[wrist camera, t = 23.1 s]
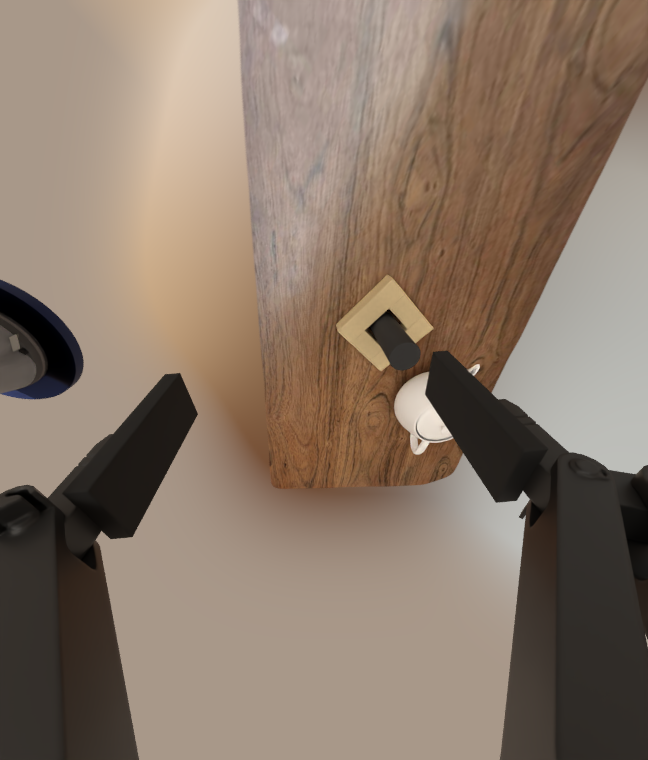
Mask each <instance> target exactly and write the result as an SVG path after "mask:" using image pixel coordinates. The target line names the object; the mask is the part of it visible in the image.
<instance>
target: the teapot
mask: <svg viewBox="0 0 648 760" xmlns="http://www.w3.org/2000/svg"><path fill="white" fill-rule="evenodd" d="M479 368H480V365H479V364H477V365H475V366H473V367H472V368H470V369H467V370H468V371H469V372H470V373H471V374H472V375H473V376H474V375H475V374H476V373H477V371H478V370H479ZM428 375H429V372H425V373H421V374H419V375H417V376H415V377H413V378H412V379H410V380H409V381H407V382H406V383H405V384H404V385H403V386H402V388H401V389H400V390H399V392H398V394H397V396H396V399H395V402H394V411H395V415H396V417H397V419H398V421H399V422H400V423H401V425H402V426H403V427H404V428H405V429H406V430H408V431H409V432H410V433H411V435H410V444H411V449H412V451H413V453H414V454H417V455H419V454H421V453H423V452H424V450H425V449H426V448H427V446H428V444H429V443H430V442H434V443H437V442H443V441H447V440H450V439H452V438H453V436H452V435H451V433H450V432H449V430H448V429H447V427H446V426H445V424H444V423H443V421H442V420H441V418H440V417H439V415H438V414H437V412H436V411H435V409H434V408H433V406H432V404H431V403H430V401H429V400H428V398H427V397H426V395H425V391H426V386H427V380H428ZM418 438H419V439H421V440H422V442H421V443H420V445H419V447H418Z"/></svg>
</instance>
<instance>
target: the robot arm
mask: <svg viewBox="0 0 648 760" xmlns="http://www.w3.org/2000/svg"><path fill="white" fill-rule="evenodd" d="M49 368H50V358H49V355H48V352H47V350H46V348H45V346H44V345H43V343H42V342H41V341H40V339H39V338H38V337H37V336H36V335H35V334H34V333H33V332H32V331H31V330H30V329H29V328H28V327H27V326H25V325H24V324H23V323H22V322H20V321H19V320H17V319H16V318H14V317H13V316H11V315H9V314H7V313H6V312H4V311H2V310H0V394H1V393H5V392H9V391H13V390H16V389H20V388H24V387H27V386H29V385H32V384H34V383H35V382H37V381H39V380H40V379H42V378H43V377H44V376H45V375H46V374H47V373H48V371H49ZM425 395H426V397H427V398H428V400H429V401H430V403H431V404H432V406H433V408H434V409H435V411H436V412H437V414H438V415H439V417H440V418H441V420H442V421H443V423H444V424H445V426H446V427H447V429H448V430H449V432H450V433H451V435H452V436H453V438H454V439H455V441H456V442H457V444H458V446H459V447H460V449H461V450H462V452H463V453H464V455H465V456H466V458H467V459H468V461H469V462H470V463H471V465H472V467H473V468H474V470H475V471H476V473H477V474H478V476H479V477H480V479H481V480H482V482H483V484H484V485H485V486H486V488H487V490H488V491H489V493H490V494H491V496H492V497H493V499H494V500H495V502H507V501H516V500H517V499H518V498H519V496H520V494H521V493H522V491H524V492H525V493H526V495H527V496H528V497H529V498H530V500H529V502H528V503H527V505H526V506H525V508H524V509H523V511H522V512H521V514H520V516H519V517H520V518H522V519H523V518H524V516H525V515H526V519H525V528H524V538H523V547H522V557H521V567H520V576H519V586H518V595H517V605H516V615H515V625H514V634H513V643H512V654H511V662H510V672H509V682H508V692H507V702H506V710H505V721H504V730H503V739H502V749H501V757H500V760H648V647H647V642H646V637H645V634H646V636H647V639H648V465H647V466H644V467H643V468H642V469H641V470H640V471H639V472H638V473H637V474H630V473H624V472H617V471H611V470H608V469H607V468H606V467H605V466H604V465H602V464H601V463H599V462H597V461H596V460H594V459H591V458H589V457H587V456H585V455H582V454H577V453H569V452H568V451H567V450H566V449H564V448H563V447H562V446H561V445H560V444H559V443H558V442H557V441H556V440H555V439H553V438H552V437H551V436H550V435H549V434H548V433H547V432H546V431H545V430H543V429H542V428H541V427H540V426H539V425H538V424H536V422H535V421H534V420H533V419H532V418H530V417H528V415H527V414H526V413H525V412H523V410H522V409H520V408H519V407H518V406H517V405H515V404H513V403H511V402H509V401H508V400H506V399H501V400H498V399H497V398H496V397H495V396H494V395H493V394H492V393H491V392H490V391H489V390H487V389H486V388H485V387H484V386H483V385H482V384H481V383H480V382H479V381H478V380H477V379H476V378H475V377H474V376H473V375H472V374H471V373H470V372H469V371H468V370H467V369H466V368H465V367H464V366H463V365H462V364H461V363H460V362H459V361H458V360H457V359H456V358H455V357H453V356H452V355H451V354H450V353H449V352H448V351H438V352H433V355H432V360H431V365H430V370H429V375H428V380H427V386H426V391H425ZM197 415H198V414H197V411H196V409H195V406H194V404H193V402H192V399H191V397H190V395H189V393H188V390H187V388H186V386H185V384H184V381H183V379H182V377H181V374H180V373H177V374H165V375H164V376H163V377H162V379H161V380H160V381H159V382H158V383H157V385H155V387H154V388H153V389H152V390H151V391H150V392H149V393H148V395H147V396H146V397H145V398H144V399H143V400H142V402H141V403H140V404H139V405H138V406H137V407H136V409H135V410H134V411H133V412H132V413H131V414H130V415H129V417H128V418H127V419H126V420H125V421H124V422H123V423H122V425H121V426H120V427H119V428H118V429H117V430H116V432H115V433H114V434H110V435H108V436H107V437H106V438H104V439H103V440H102V441H100V442H99V443H97V444H96V445H95V446H94V447H93V448H92V450H91V451H90V452H89V453H88V454H87V457H84V458H83V460H82V461H81V462H80V463H79V466H77V467H75V468H74V470H73V471H72V472H71V473H70V474H69V475H68V476H67V477H66V478H65V480H64V481H63V482H62V483H61V484H60V485H59V486H58V487H57V489H55V491H54V492H53V493H52V494H51V495H50V496H49V497H48V498H46V497H45V496H44V495H43V494H42V493H41V492H40V491H38V490H37V489H36V488H35V487H34V486H30V485H24V486H18V487H15V488H12V489H10V490H7V491H5V492H3V493H1V494H0V760H139V757H138V752H137V746H136V741H135V735H134V730H133V725H132V719H131V714H130V709H129V703H128V698H127V692H126V686H125V681H124V676H123V670H122V664H121V659H120V654H119V648H118V643H117V637H116V632H115V627H114V621H113V615H112V610H111V604H110V599H109V594H108V588H107V583H106V577H105V572H104V567H103V561H102V556H101V550H100V546H99V544H98V543H97V542H96V541H95V540H96V538H97V536H98V535H99V534H100V532H101V531H102V532H104V533H105V534H106V535H107V536H108V537H109V538H110V539H117V538H127V537H133V535H134V533H135V531H136V529H137V527H138V525H139V523H140V522H141V520H142V518H143V516H144V514H145V512H146V510H147V509H148V507H149V505H150V503H151V501H152V499H153V497H154V495H155V494H156V492H157V490H158V488H159V486H160V484H161V482H162V480H163V479H164V477H165V475H166V473H167V471H168V469H169V467H170V465H171V464H172V461H173V460H174V458H175V456H176V454H177V452H178V450H179V449H180V447H181V445H182V443H183V441H184V439H185V437H186V435H187V433H188V431H189V429H190V428H191V426H192V424H193V422H194V420H195V418H196V417H197Z"/></svg>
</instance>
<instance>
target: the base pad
mask: <svg viewBox="0 0 648 760" xmlns="http://www.w3.org/2000/svg"><path fill="white" fill-rule="evenodd" d="M388 309H390V310H391V311H392V312H393V313H394V315H395V316H396V317H397V318H398V319H399V320H400V321H401V322H402V323H401V324H399V325H400V326H401V327H402V328H403V329H404V331H405V332H406V333H407V334H408V335H409V336H410V338H411V339H412V340H413V341H414V342H415V343H416V342H417V341H419V340H420V339H421V338H422V337H424V336H425V335H426V334H427V333H429V332H430V331H431V330H432V329H433V327H432V325H431V324H430V323H429V322H428V321H427V319H426V318H425V317H424V316H423V315H422V313H421V312H420V311H419V310H418V308H417V307H416V306H415V305H414V304H413V302H412V301H411V300H410V299H409V297H408V296H407V295H406V294H405V293H404V291H403V290H402V289H401V288H400V286H399V285H398V284H397V283H396V282H395V280H394V279H393V278H391V277H390V276H389V275H386V276H385V277H384V278H383V279H382V280H381V281H380V282H379V283H378V284H377V285H376V286H375V287H374V288H373V289H372V290H371V291H370V292H369V293H368V294H367V295H366V296H365V297H364V298H363V299H362V300H361V301H359V302H358V303H357V304H356V305H355V306H354V307H353V308H352V309H351V310H350V311H349V312H348V313H347V314H346V315H345V316H344V317H343V318H342V319H341V320H340V321H339V322H338V323H337V324H336V327H337V330H338V332H339V333H340V334H341V335H342V336H343V337H344V338H345V339H346V340H347V341H349V342H350V343H351V344H352V345H353V346H354V347H355V348H356V349H357V350H358V351H359V352H360V353H361V354H363V355H364V356H365V357H366V358H367V359H368V360H369V361H370V362H371V363H372V364H373V365H374V366H375V367H377V368H378V369H379V370H380V371H382V370H383V369H384V368H385V367H387V366H388V365H389V364H390V363H389V361H388V359H387V357H386V356H385V354H384V352H383V350H382V348H381V347H380V345H379V343H378V341H377V340H376V338H375V337H374V336H373V335H372V334H371V333H370V332H369V331H368V330H367V328H368V327H369V326H370V325H371V324H372V323H373V322H375V321H376V320H377V319H378V318H379V317H380V316H381V315H382V314H383V313H384V312H386V311H387V310H388Z"/></svg>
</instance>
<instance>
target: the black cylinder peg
mask: <svg viewBox="0 0 648 760" xmlns="http://www.w3.org/2000/svg"><path fill="white" fill-rule="evenodd" d="M370 329H371V331H372V332H373V334H374V336H375V338H376V340H377V341H378V343H379V345H380V347H381V348H382V350H383V352H384V354H385V356H386V357H387V359H388V361H389V363H390V364H391V366H392V367H393V368H395V369H397V370H407V369H410V368H412V367H413V366H414V365H415V364H416V363H417V362H418V361H419V358H420V349H419V347H418V346H417V345H416V344H415V342H414V341H413V340H412V339H411V338H410V336H409V335H408V334H407V333H406V332H405V331H404V329H403V328H402V327H401V326H400V325H399V323H398V322H397V321H396V320H395V319H394V317H393V316H392V315H391V314H390V313H388V312H384V313H383V314H382V315H381V316H380V317H379V318H378V319H377V320H376V321H375V322H373V323H372V324H371V325H370Z"/></svg>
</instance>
